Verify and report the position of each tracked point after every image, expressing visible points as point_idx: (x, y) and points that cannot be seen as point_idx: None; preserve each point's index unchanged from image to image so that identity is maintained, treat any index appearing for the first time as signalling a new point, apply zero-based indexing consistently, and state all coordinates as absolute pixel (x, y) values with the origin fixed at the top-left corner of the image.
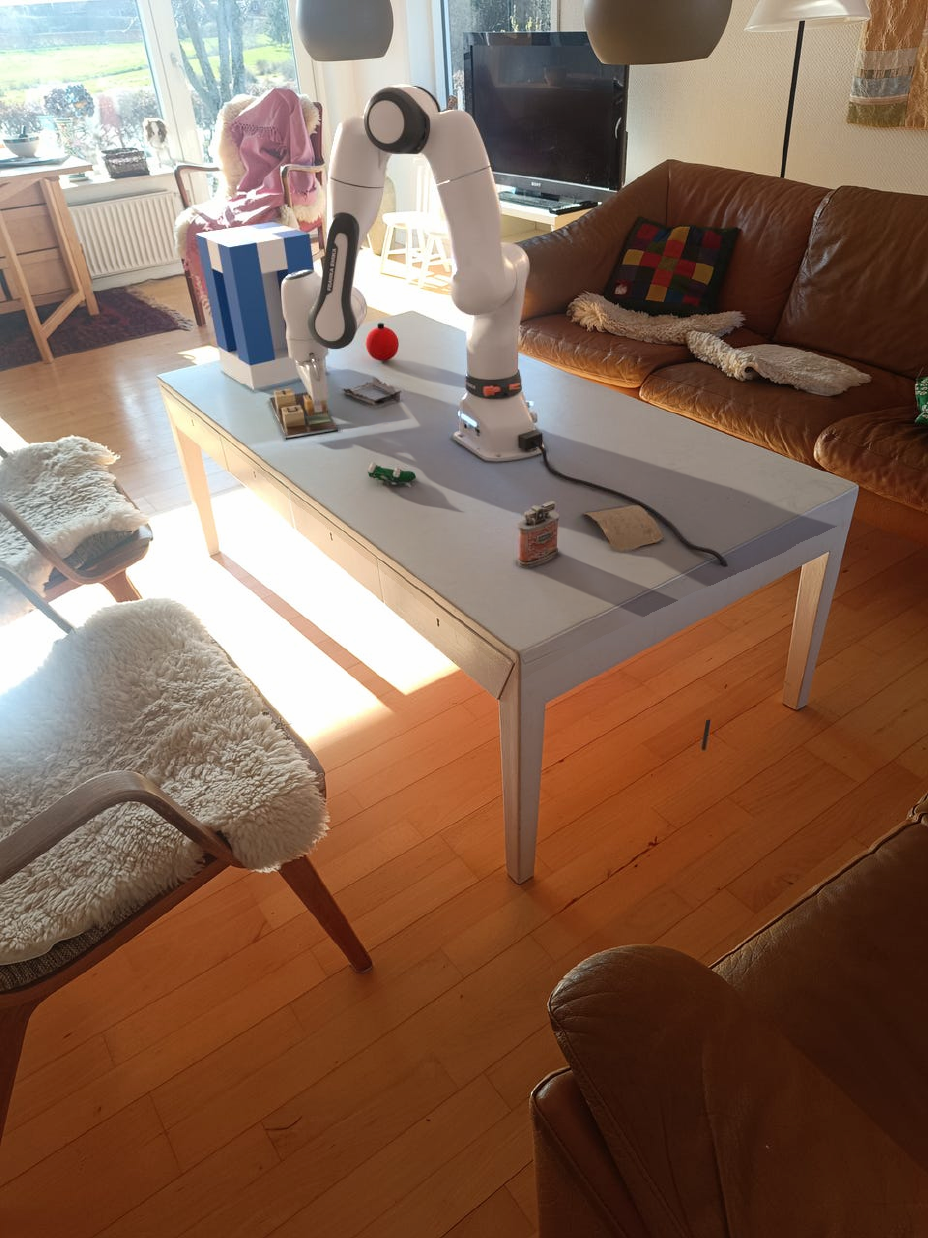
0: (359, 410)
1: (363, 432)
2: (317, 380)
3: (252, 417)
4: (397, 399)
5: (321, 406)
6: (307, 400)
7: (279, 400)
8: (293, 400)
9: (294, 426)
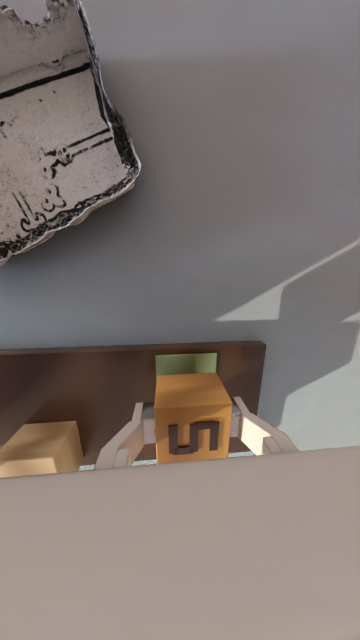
0: (133, 251)
1: (296, 280)
2: (115, 468)
3: None
4: (91, 62)
5: (246, 407)
6: (214, 458)
7: None
8: (66, 442)
9: None
